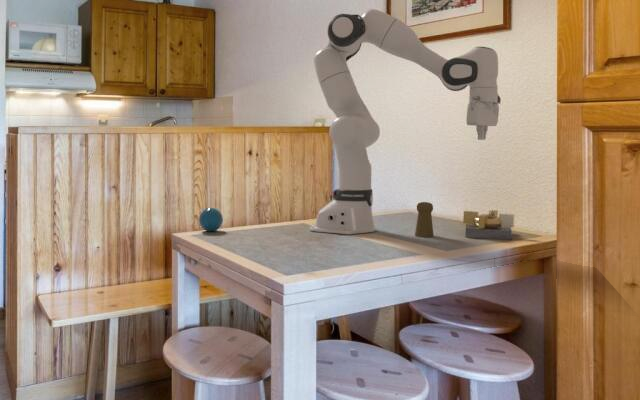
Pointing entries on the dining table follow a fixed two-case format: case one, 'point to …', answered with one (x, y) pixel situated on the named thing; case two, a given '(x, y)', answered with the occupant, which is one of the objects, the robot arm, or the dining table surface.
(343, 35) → the robot arm
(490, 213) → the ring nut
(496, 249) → the dining table surface
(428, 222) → the cork
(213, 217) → the ball
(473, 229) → the housing
